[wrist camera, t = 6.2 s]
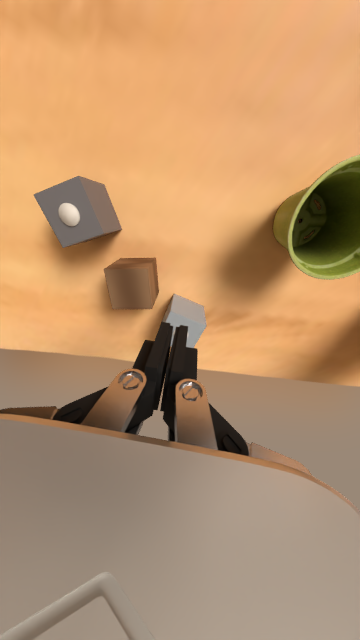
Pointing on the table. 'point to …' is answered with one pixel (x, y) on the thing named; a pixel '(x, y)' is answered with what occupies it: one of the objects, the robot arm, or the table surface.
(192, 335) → the slate block
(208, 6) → the table surface
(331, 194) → the plant pot
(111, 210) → the charcoal block
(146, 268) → the walnut block
